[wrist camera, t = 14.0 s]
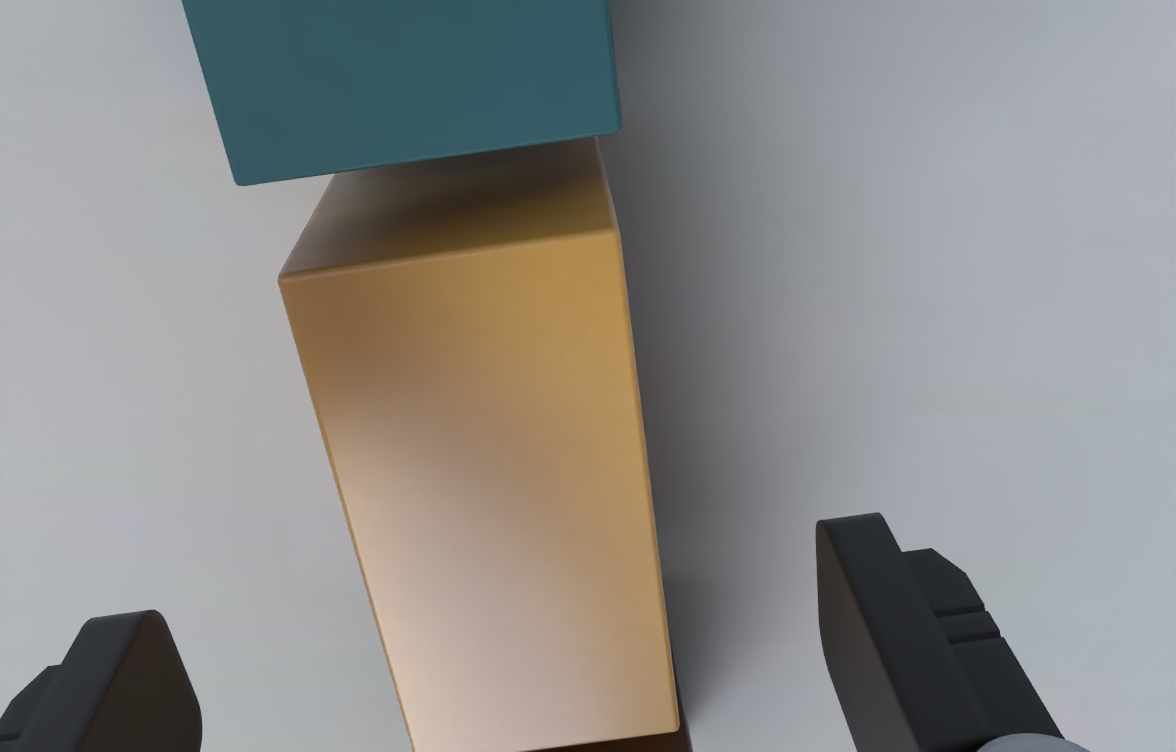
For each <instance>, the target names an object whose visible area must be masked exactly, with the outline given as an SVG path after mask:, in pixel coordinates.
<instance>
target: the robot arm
mask: <svg viewBox="0 0 1176 752" xmlns="http://www.w3.org/2000/svg"><path fill="white" fill-rule="evenodd" d="M816 560H817V585H818V611H819V627H820V635H821V641H822V647H823V652H824V656H825V660H826V664H827V668H828V671H829V674H830V677H831V680H832V682H833V685H834V688H835V691H836V694H837V696H838V699H839V702H840V705H841V707H842V710H843V713H844V716H845V719H846V721H847V724H848V727H849V730H850V732H851V735H852V738H853V741H854V744H855V746H856V749H857V752H1090V751H1089V750H1087V749H1085V748H1083V747H1081V746H1079V745H1077V744H1075V743H1072V742H1070V741H1067V740H1065V738H1064V737H1063V736H1062V734H1061V733H1060V731H1059V729H1058V728H1057V726H1056V724H1055V723H1054V721H1053V719H1052V718H1051V716H1050V714H1049V712H1048V711H1047V709H1046V707H1045V706H1044V704H1043V702H1042V701H1041V699H1040V697H1039V696H1038V694H1037V692H1036V691H1035V689H1034V687H1033V686H1032V684H1031V682H1030V681H1029V679H1028V677H1027V676H1026V674H1025V672H1024V670H1023V669H1022V667H1021V665H1020V664H1019V662H1018V660H1017V659H1016V657H1015V655H1014V654H1013V652H1012V650H1011V649H1010V647H1009V645H1008V644H1007V642H1006V640H1005V639H1004V637H1002V638H1001V636H1000V630H999V629H998V627H997V625H996V623H995V622H994V620H993V618H992V617H991V615H990V613H989V612H988V611H985V607H984V603H983V602H982V600H981V598H980V597H979V595H978V593H977V592H976V590H975V588H974V587H973V585H972V583H971V581H970V580H969V578H968V576H967V575H966V573H965V572H963V571H962V570H961V569H959V568H958V567H957V566H955V565H954V564H952V563H951V562H950V561H948V560H947V559H946V558H944V557H943V556H942V555H940V554H939V553H938V552H936V551H935V550H933V549H932V548H929V549H922V550H915V551H907V552H901V550H900V548H899V546H898V544H897V542H896V540H895V538H894V536H893V534H892V532H891V531H890V529H889V527H888V525H887V523H886V521H885V519H884V518H883V516H882V515H881V514H880V513H879V512H878V513H870V514H862V515H855V516H848V517H840V518H833V519H826V520H818V521H817V524H816ZM201 742H202V717H201V710H200V706H199V703H198V700H197V697H196V695H195V692H194V690H193V687H192V685H191V682H190V680H189V677H188V675H187V672H186V670H185V667H184V665H183V662H182V660H181V657H180V655H179V652H178V650H177V647H176V645H175V642H174V640H173V637H172V635H171V632H170V630H169V627H168V625H167V623H166V621H165V619H164V617H163V616H162V615H161V614H160V613H159V612H158V611H156V610H146V611H139V612H131V613H124V614H117V615H109V616H102V617H95V618H91V619H89V620H88V621H87V622H86V623H85V624H84V625H83V627H82V628H81V630H80V632H79V634H78V635H77V637H76V639H75V641H74V642H73V644H72V646H71V648H70V649H69V651H68V653H67V655H66V656H65V658H64V660H63V662H62V663H61V665H54V666H48V667H47V668H46V669H44V670H43V671H42V672H41V673H40V674H39V675H38V676H37V677H36V678H35V679H34V680H33V681H32V682H31V683H30V684H28V685H27V686H26V687H25V688H24V689H23V690H22V691H21V692H20V693H19V694H18V695H17V696H16V697H15V698H14V699H12V701H11V702H10V704H9V706H8V707H7V709H6V710H5V712H4V714H3V715H2V717H1V719H0V752H200V748H201Z"/></svg>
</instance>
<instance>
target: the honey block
mask: <svg viewBox="0 0 1176 752" xmlns="http://www.w3.org/2000/svg"><path fill="white" fill-rule="evenodd" d="M278 285H279V288H280V292H281V295H282V299H283V302H284V306H285V309H286V313H287V316H288V320H289V323H290V326H291V330H292V333H293V337H294V340H295V344H296V347H297V351H298V354H299V358H300V361H301V365H302V368H303V372H304V375H305V378H306V382H307V385H308V389H309V392H310V396H311V399H312V403H313V406H314V410H315V413H316V417H317V420H318V424H319V427H320V430H321V434H322V437H323V441H324V444H325V448H326V451H327V455H328V458H329V462H330V465H331V469H332V472H333V476H334V479H335V482H336V486H337V489H338V493H339V496H340V500H341V503H342V507H343V510H344V514H345V517H346V521H347V524H348V528H349V531H350V535H351V538H352V541H353V545H354V548H355V552H356V555H357V559H358V562H359V566H360V569H361V573H362V576H363V580H364V583H365V587H366V590H367V593H368V597H369V600H370V604H371V607H372V611H373V614H374V618H375V621H376V625H377V628H378V632H379V635H380V639H381V642H382V645H383V649H384V652H385V656H386V659H387V663H388V666H389V670H390V673H391V677H392V680H393V684H394V687H395V691H396V694H397V697H398V701H399V704H400V708H401V711H402V715H403V718H404V722H405V725H406V729H407V732H408V736H409V739H410V743H411V746H412V750H413V752H527V751H535V750H542V749H550V748H557V747H564V746H572V745H579V744H587V743H594V742H602V741H609V740H617V739H624V738H631V737H639V736H646V735H654V734H661V733H669V732H675V731H677V730H678V729H679V726H680V721H679V713H678V704H677V696H676V688H675V680H674V671H673V663H672V655H671V647H670V638H669V630H668V622H667V613H666V605H665V597H664V589H663V580H662V572H661V564H660V556H659V547H658V539H657V531H656V523H655V514H654V506H653V498H652V489H651V481H650V473H649V465H648V456H647V448H646V440H645V432H644V423H643V415H642V407H641V399H640V390H639V382H638V374H637V365H636V357H635V349H634V341H633V332H632V324H631V316H630V308H629V299H628V291H627V283H626V275H625V266H624V258H623V250H622V242H621V233H620V229H619V225H618V220H617V216H616V212H615V208H614V203H613V199H612V195H611V190H610V186H609V182H608V178H607V173H606V169H605V165H604V160H603V156H602V152H601V148H600V143H599V139H598V136H595V137H588V138H581V139H574V140H567V141H560V142H553V143H546V144H538V145H531V146H524V147H517V148H510V149H503V150H496V151H489V152H482V153H475V154H468V155H460V156H453V157H446V158H439V159H432V160H425V161H418V162H411V163H404V164H397V165H389V166H382V167H375V168H368V169H361V170H354V171H347V172H340V173H335V174H334V176H333V178H332V180H331V182H330V183H329V185H328V187H327V189H326V191H325V192H324V194H323V196H322V198H321V200H320V201H319V203H318V205H317V207H316V209H315V211H314V212H313V214H312V216H311V218H310V220H309V221H308V223H307V225H306V227H305V229H304V230H303V232H302V234H301V236H300V238H299V239H298V241H297V243H296V245H295V247H294V249H293V250H292V252H291V254H290V256H289V258H288V259H287V261H286V263H285V265H284V267H283V268H282V270H281V272H280V274H279V276H278Z"/></svg>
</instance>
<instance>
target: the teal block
mask: <svg viewBox="0 0 1176 752" xmlns="http://www.w3.org/2000/svg"><path fill="white" fill-rule="evenodd" d="M182 4H183V7H184V10H185V14H186V17H187V21H188V24H189V27H190V31H191V34H192V38H193V41H194V44H195V48H196V51H197V55H198V58H199V62H200V65H201V68H202V72H203V75H204V79H205V82H206V85H207V89H208V92H209V96H210V99H211V103H212V106H213V109H214V113H215V116H216V120H217V123H218V126H219V130H220V133H221V137H222V140H223V143H224V147H225V150H226V154H227V157H228V161H229V164H230V167H231V171H232V174H233V178H234V181H235V182H236V184H237V185H239V186H247V185H255V184H262V183H269V182H276V181H283V180H290V179H297V178H304V177H311V176H318V175H326V174H333V173H340V172H347V171H354V170H361V169H368V168H375V167H382V166H389V165H397V164H404V163H411V162H418V161H425V160H432V159H439V158H446V157H453V156H460V155H468V154H475V153H482V152H489V151H496V150H503V149H510V148H517V147H524V146H531V145H538V144H546V143H553V142H560V141H567V140H574V139H581V138H588V137H595V136H602V135H609V134H617V133H618V132H620V131H621V130H622V117H621V108H620V99H619V90H618V82H617V73H616V64H615V55H614V46H613V37H612V28H611V20H610V11H609V2H608V0H182Z"/></svg>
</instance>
